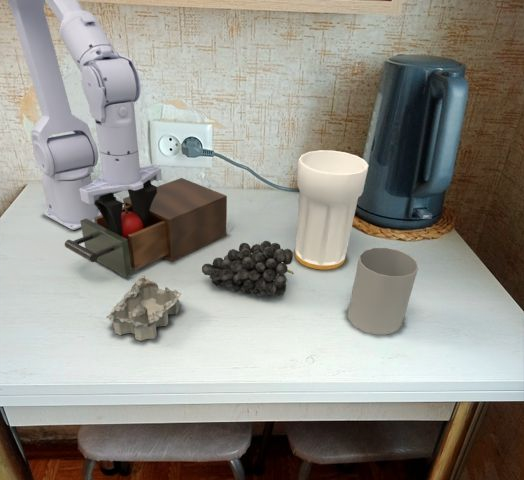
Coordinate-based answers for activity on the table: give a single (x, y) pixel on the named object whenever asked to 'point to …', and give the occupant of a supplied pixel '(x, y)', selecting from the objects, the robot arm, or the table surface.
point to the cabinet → (188, 216)
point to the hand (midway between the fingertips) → (128, 231)
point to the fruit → (252, 269)
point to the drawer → (122, 244)
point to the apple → (130, 223)
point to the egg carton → (144, 309)
